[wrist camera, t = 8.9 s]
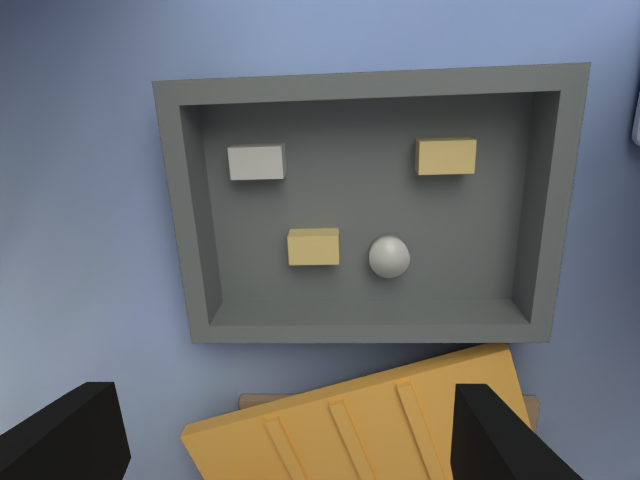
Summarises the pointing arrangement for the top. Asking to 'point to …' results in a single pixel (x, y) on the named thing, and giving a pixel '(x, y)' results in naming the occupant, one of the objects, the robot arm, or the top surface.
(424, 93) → the parts tub
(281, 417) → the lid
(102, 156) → the top surface
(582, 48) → the top surface
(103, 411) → the robot arm
